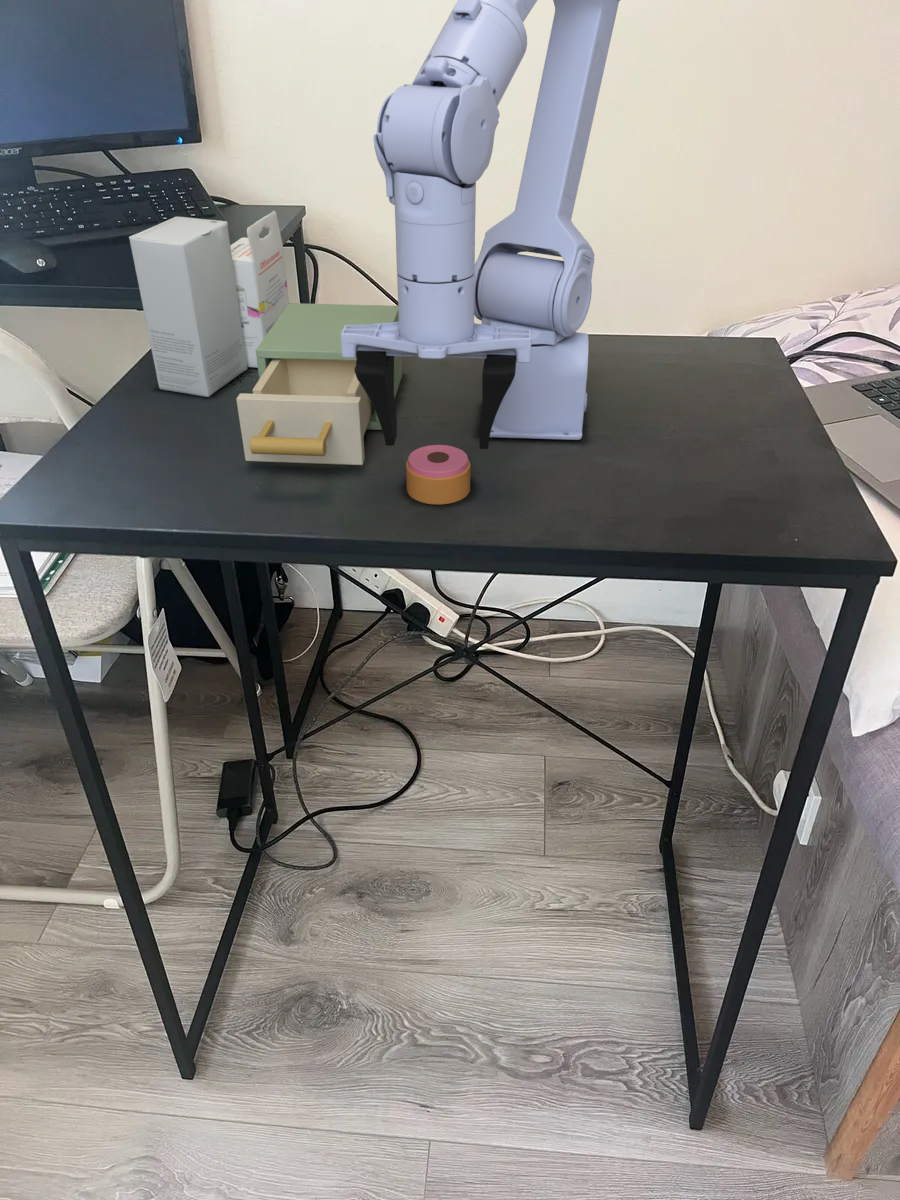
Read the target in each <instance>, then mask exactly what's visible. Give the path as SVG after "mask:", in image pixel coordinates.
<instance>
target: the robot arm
mask: <svg viewBox="0 0 900 1200" xmlns="http://www.w3.org/2000/svg"><path fill="white" fill-rule="evenodd" d="M552 1H553V5H554V15H553V20H552V24H551V29H550V35H549V40H548V44H547V50H546V55H545V58H544V59H545V60H544V64H543V68H542V69H543V70H542V74H541V78H540V84H539V89H538V93H537V98H536V104H535V108H534V114H533V119H532V123H531V127H530V128H531V129H530V134H529V138H528V143H527V148H526V153H525V157H524V158H525V159H524V163H523V168H522V173H521V177H520V182H519V187H518V191H517V192H518V193H517V198H516V203H515V207H514V210H513V211H512V212H511V213H510V214H508V215H507V216H506V217H504V218H503V219H502V220H500V221H499V222H497V223H496V224H494V225H493V226H491V227H490V228H489V229H487V230H486V232H485V233H484V237H483V241H482V245H481V249H480V252H479V254H478V257H477V259H476V214H477V213H476V210H477V209H476V206H477V205H476V203H477V202H476V201H477V199H476V198H477V182H478V181H479V180H480V179H481V178H482V176H483V174H484V173H485V172H486V170H487V169H488V167H489V165H490V162H491V159H492V155H493V151H494V144H495V135H496V130H497V128H498V125H499V123H500V121H499V118H500V116H501V113H500V111H499V107H498V106H499V105H500V102H501V101H502V99H503V97H504V95H505V93H506V91H507V89H508V87H509V85H510V83H511V81H512V79H513V77H514V76H515V73H516V72H517V70H518V68H519V66H520V64H521V62H522V60H523V58H524V56H525V54H526V52H527V48H528V36H527V30H526V27H525V24H524V22H525V21H526V19H527V17H528V16H529V14H530V13H531V11H532V9H533V8H534V7H535V5H536V3H537V2H538V0H457V1H456V3H455V4H454V6H453V8H452V10H451V12H450V14H449V15H448V17H447V19H446V21H445V23H444V24H443V26H442V28H441V30H440V32H439V33H438V35H437V37H436V39H435V41H434V43H433V45H432V46H431V48H430V50H429V52H428V53H427V56H426V57H425V59H424V61H423V63H422V64H421V66H420V68H419V70H418V72H417V74H416V76H415V78H414V79H413V81H412V82H411V83H412V84H409V83H408V84H403V85H399V86H398V87H397V88H396V89H395V90H394V92H392V93H390V94H389V95H388V96H387V97H386V98H385V99H384V101H383V103H382V104H381V107H380V109H379V113H378V116H377V121H376V122H377V123H376V133H374V134H373V146H374V147H373V148H374V151H375V155H376V159H377V161H378V164H379V166H380V168H381V170H382V172H383V174H384V178H385V190H386V191H385V192H386V193H385V194H386V197H388V201H389V203H390V204H392V205H393V206H394V219H395V220H394V221H395V222H394V223H395V255H396V256H395V257H396V278H397V279H396V283H397V306H398V314H399V322H391V323H380V324H368V325H345V326H344V328H343V330H342V332H341V348H342V357H343V358H355V357H356V359H357V360H356V366H355V374H356V377H357V379H358V381H359V382H360V384H361V385H362V387H363V388H364V390H365V392H366V393H367V395H368V397H369V399H370V401H371V403H372V405H373V407H374V409H375V411H376V414H377V416H378V419H379V422H380V425H381V428H382V430H381V431H382V435H383V439H384V444H385V446H388V447H389V446H390V447H391V446H392V447H394V446H395V442H396V440H397V436H398V420H397V412H396V411H397V410H396V402H395V399H394V356H402V357H418V358H420V359H429V360H431V359H434V360H442V359H446V358H450V359H451V358H452V359H454V358H455V359H457V358H458V359H484V360H483V367H482V372H481V373H482V377H481V379H482V380H481V383H482V389H481V392H482V394H481V396H482V397H481V398H482V399H481V400H482V401H481V402H482V405H481V406H482V407H481V409H482V410H481V411H482V412H481V422H480V431H479V440H478V443H479V445H478V446H479V450H488V449H489V444H490V438H502V439H505V438H506V439H531V440H532V439H533V440H534V439H535V440H561V441H562V440H563V441H564V440H565V441H579V440H581V439H583V425H584V414H585V412H587V406H588V405H587V404H588V393H587V381H588V369H589V368H588V367H589V349H590V347H589V334H588V333H587V332H579V331H578V330H579V329H580V328H581V327H582V326H583V323H584V322H585V320H586V318H587V315H588V312H589V309H590V305H591V301H592V292H593V282H592V279H593V271H594V265H595V252H594V250H593V248H592V245H590V243H589V242H588V240H587V239H586V237H584V235H583V234H582V233H581V232H580V231H579V228H577V227H576V226H575V224H574V222H573V221H572V219H573V215H574V214H573V213H574V209H575V204H576V200H577V195H578V191H579V185H580V181H581V178H582V172H583V168H584V163H585V158H586V154H587V149H588V146H589V145H588V144H589V140H590V137H591V131H592V126H593V123H594V118H595V115H596V114H595V113H596V108H597V104H598V99H599V94H600V90H601V86H602V81H603V77H604V72H605V69H606V68H605V67H606V63H607V57H608V54H609V49H610V45H611V41H612V35H613V31H614V27H615V22H616V18H617V13H618V9H619V3H620V1H621V0H552ZM521 253H533V254H538V255H539V254H540V255H545V256H551V257H557V258H558V257H559V258H562V260H560V259H553V258H547V257H540V256H535V255H528V254H521ZM475 318H476V319H477V320H478V321H481V323H477V322H475Z"/></svg>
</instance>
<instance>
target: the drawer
mask: <svg viewBox="0 0 900 1200" xmlns="http://www.w3.org/2000/svg"><path fill="white" fill-rule="evenodd" d="M355 366H356V360H319V359H283V358H273V359H272V361H271V362H270V364H269V365H268V367H267V368H266V370H265V372H264V373H263V375H262V376H261V378H260V379H259V378H258V381H257V382H256V384H255V385H254V387H253V388H252V393H241V392H240V393H239V394H238V395H237V397H236V406H237V412H238V413H237V414H238V419H239V427H240V433H241V440H242V447H243V453H244V459H245V461H246V462H268V463H293V464H294V463H296V464H297V463H298V464H320V465H321V464H322V465H323V464H325V465H327V464H328V465H347V466H348V465H349V466H350V465H352V466H363V465H364V462H365V460H366V455H365V441H364V439H365V438H364V437H365V434H366V431H367V429H366V428H367V426H368V423H369V420H370V418H371V415H372V412H373V409H374V407H373V405H372V403H371V401H370V399H369V397H368V395H367V393H366V392H365V390H364V388H363V387H362V385H361V384H360V382H359V381H358V379H357V377H356V374H355Z"/></svg>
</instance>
